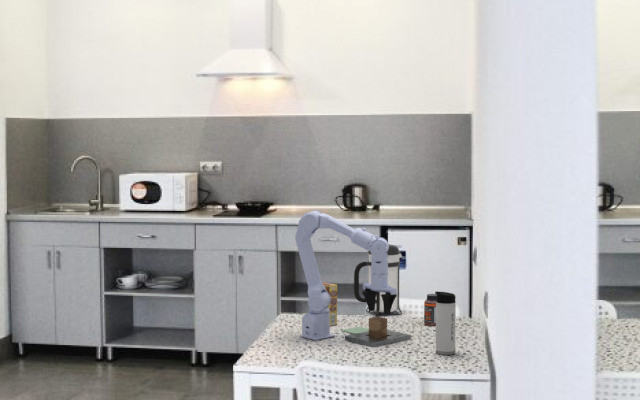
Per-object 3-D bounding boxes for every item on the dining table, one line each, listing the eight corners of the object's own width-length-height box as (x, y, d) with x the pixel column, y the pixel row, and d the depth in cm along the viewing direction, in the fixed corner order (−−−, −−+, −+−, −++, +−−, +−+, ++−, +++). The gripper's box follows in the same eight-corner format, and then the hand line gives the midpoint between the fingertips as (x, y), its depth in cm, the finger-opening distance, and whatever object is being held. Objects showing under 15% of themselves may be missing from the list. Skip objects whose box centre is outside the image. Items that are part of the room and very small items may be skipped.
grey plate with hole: (373, 347, 302) (373, 342, 301) (344, 340, 312) (344, 335, 312) (410, 339, 313) (410, 334, 313) (382, 332, 324) (382, 328, 324)
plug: (377, 341, 310) (377, 320, 309) (368, 339, 313) (368, 318, 312) (387, 339, 312) (387, 318, 312) (378, 337, 316) (378, 316, 315)
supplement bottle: (420, 324, 338) (420, 294, 337) (430, 322, 342) (430, 292, 341) (433, 326, 334) (433, 296, 333) (443, 324, 338) (443, 294, 337)
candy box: (338, 324, 337) (337, 284, 336) (329, 326, 335) (329, 285, 334) (322, 321, 344) (322, 281, 343) (314, 322, 342) (313, 282, 341)
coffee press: (372, 308, 370) (373, 235, 368) (408, 312, 362) (409, 237, 360) (353, 315, 355) (353, 239, 353) (390, 319, 347) (390, 241, 345)
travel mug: (433, 350, 297) (434, 290, 295) (454, 350, 296) (454, 290, 295) (435, 355, 290) (436, 293, 289) (456, 355, 290) (456, 293, 289)
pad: (358, 335, 320) (358, 334, 320) (341, 331, 326) (341, 330, 326) (376, 331, 325) (376, 330, 325) (359, 327, 332) (359, 326, 332)
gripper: (402, 274, 309) (402, 314, 310) (373, 270, 320) (372, 308, 321) (388, 276, 304) (387, 316, 305) (358, 271, 315) (358, 310, 316)
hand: (379, 312), depth 313 cm, fingers open, 7 cm apart
